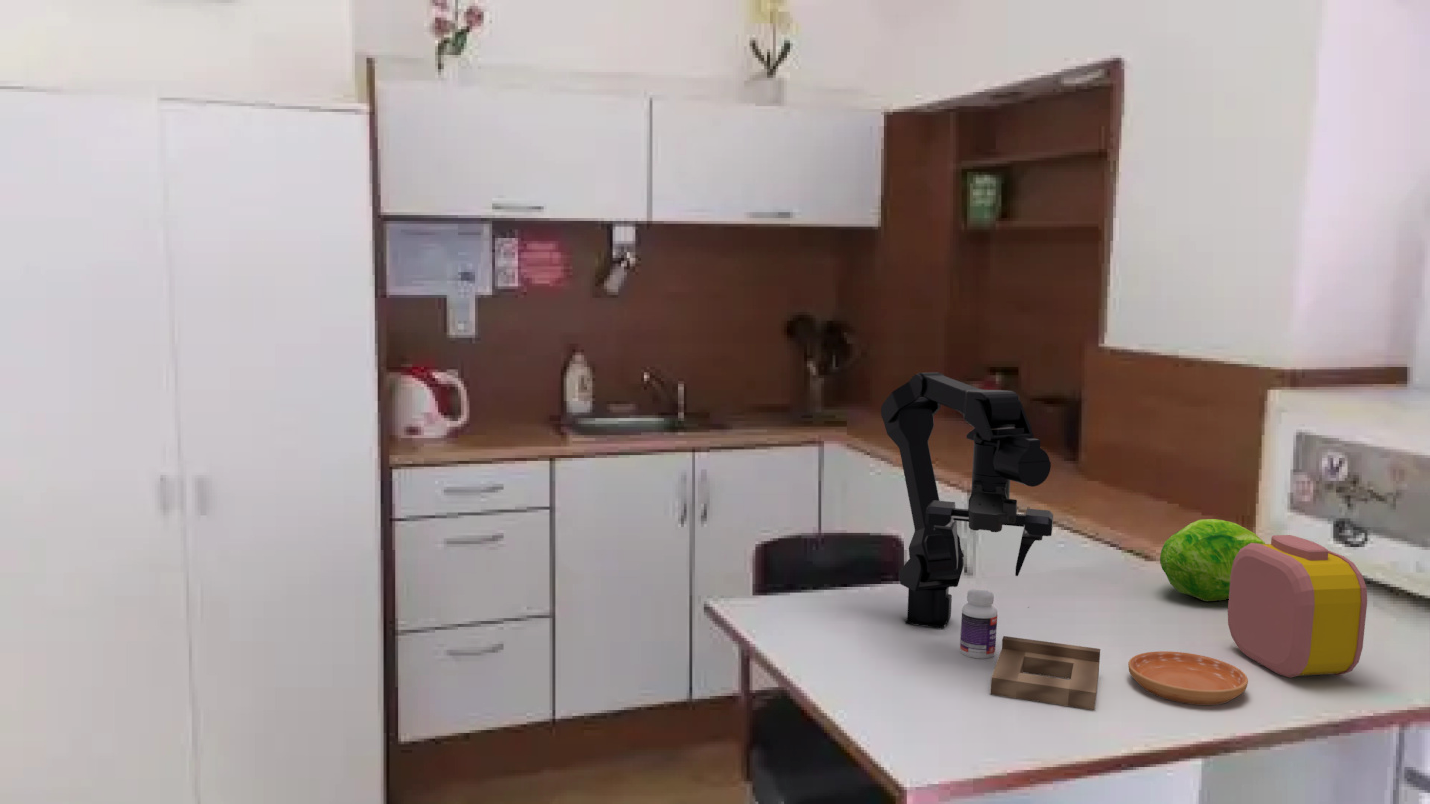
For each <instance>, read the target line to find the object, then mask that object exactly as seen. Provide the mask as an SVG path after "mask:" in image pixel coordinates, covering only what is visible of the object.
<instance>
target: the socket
mask: <svg viewBox="0 0 1430 804" xmlns="http://www.w3.org/2000/svg"><path fill="white" fill-rule="evenodd" d="M1100 659H1101V649H1100V648H1095V647H1088V646H1082V645H1081V646H1080V645H1074V644H1066V643H1058V642H1049V641H1046V640H1045V641H1044V640H1038V639H1037V640H1036V639H1029V638H1022V637H1021V638H1020V637H1015V636H1014V637H1013V636H1005V635H1003V637H1002V641H1001V650H1000V652H999V655H998V658H997V661H996V663H995V666H994V668H993V669H994V670H993V672H992V673H991V674H992V675H991V678H990V695H993V696H1000V697H1005V698H1010V699H1011V698H1012V699H1018V700H1025V701H1030V702H1031V701H1033V702H1037V701H1038V702H1037V703H1045V704H1051V705H1057V704H1060V705H1059V706H1064V707H1071V708H1078V709H1085V710H1090V711H1096V710H1095V709H1096V701H1097V692H1098V684H1099V674H1100Z"/></svg>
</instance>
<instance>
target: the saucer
mask: <svg viewBox="0 0 1430 804" xmlns="http://www.w3.org/2000/svg"><path fill="white" fill-rule="evenodd" d="M1127 664H1128V665H1127V667H1128V671H1129V674H1130V676H1131V677H1132V678H1133V680H1135V682H1137V683H1138V684H1139V686H1140V687H1141V688H1142V689H1144V691H1147V692H1148V693H1150V694H1152V695H1155V696H1156V697H1160V698H1162V699H1165V700H1168V701H1172V702H1177V703H1181V704H1187V705H1197V706H1215V705H1221V704H1226V703H1228V702H1230V701H1232V700H1233V699H1235V698H1237V697H1239V696H1240V695H1241V694H1243V693H1244V692H1245V691H1246V689H1247V688H1248V684H1249V678H1248V677H1247V675H1246V673H1244V672H1243V671H1242V670H1241V668H1240V669H1239V668H1238V667H1236V666H1234V665H1232V664H1230V663H1227V662H1226V661H1223V660H1220V659H1216V658H1213V657H1209V656H1205V655H1202V654H1201V655H1200V654H1196V653H1190V652H1182V651H1168V650H1167V651H1164V650H1163V651H1161V650H1159V651H1150V652H1142V653H1139V654H1136V655H1134V656H1132V657H1131V658H1130V659H1129V661H1128V663H1127Z"/></svg>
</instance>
